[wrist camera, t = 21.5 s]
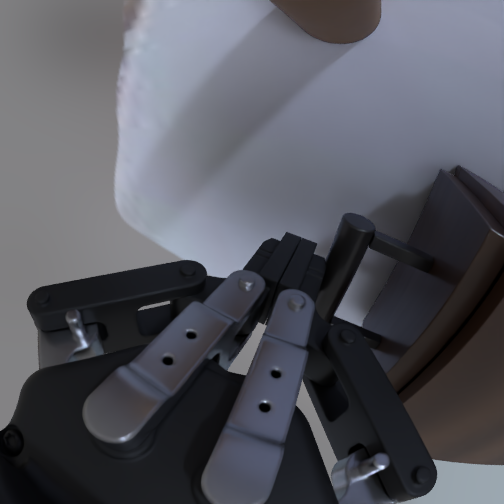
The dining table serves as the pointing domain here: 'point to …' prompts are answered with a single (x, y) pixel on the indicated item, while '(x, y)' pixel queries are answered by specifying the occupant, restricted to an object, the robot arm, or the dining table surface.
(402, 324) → the drawer
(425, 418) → the cabinet
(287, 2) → the tan wooden cylinder
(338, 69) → the dining table surface
